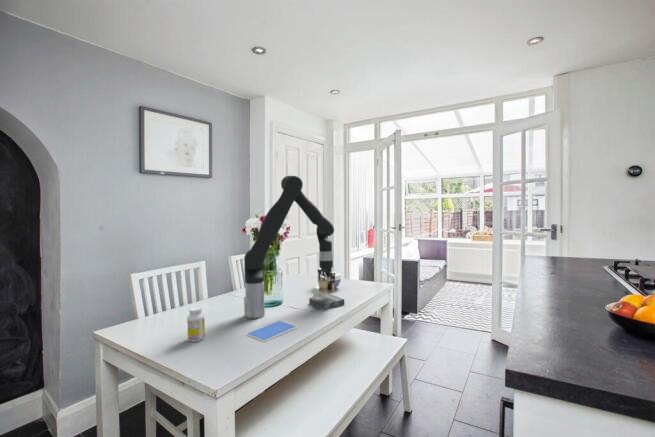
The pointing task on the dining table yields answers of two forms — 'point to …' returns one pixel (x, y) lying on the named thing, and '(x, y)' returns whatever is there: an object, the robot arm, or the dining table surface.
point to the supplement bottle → (196, 325)
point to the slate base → (326, 301)
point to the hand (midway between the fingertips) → (326, 289)
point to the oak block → (325, 286)
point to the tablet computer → (271, 331)
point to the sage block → (317, 292)
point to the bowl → (337, 279)
